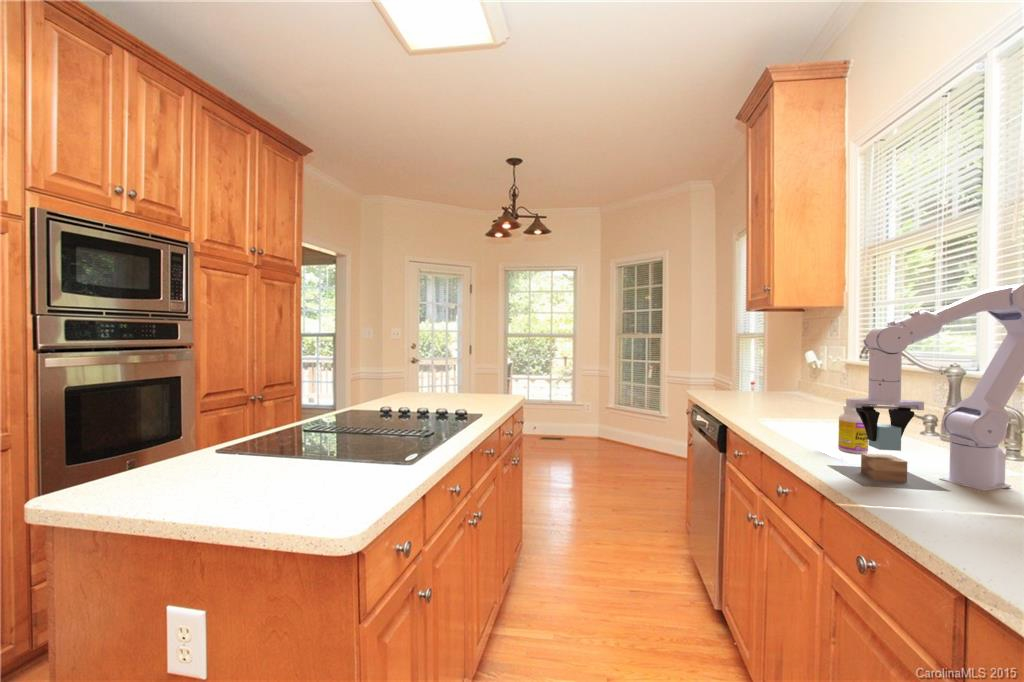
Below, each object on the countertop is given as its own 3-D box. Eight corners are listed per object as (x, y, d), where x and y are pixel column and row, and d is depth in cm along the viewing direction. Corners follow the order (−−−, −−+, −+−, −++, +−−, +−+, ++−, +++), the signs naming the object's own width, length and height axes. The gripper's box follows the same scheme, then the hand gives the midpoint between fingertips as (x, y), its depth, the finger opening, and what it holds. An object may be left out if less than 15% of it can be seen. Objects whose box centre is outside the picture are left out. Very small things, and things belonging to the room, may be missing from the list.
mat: (826, 466, 114) (826, 465, 114) (901, 470, 111) (901, 468, 111) (863, 487, 98) (863, 485, 98) (950, 492, 95) (950, 491, 95)
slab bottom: (860, 472, 108) (861, 462, 108) (890, 473, 107) (890, 464, 107) (876, 480, 102) (876, 470, 102) (907, 481, 101) (907, 471, 101)
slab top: (861, 462, 108) (861, 453, 108) (890, 464, 107) (890, 454, 107) (876, 470, 102) (876, 460, 102) (907, 471, 101) (907, 461, 101)
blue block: (868, 445, 107) (868, 423, 106) (889, 446, 106) (889, 424, 106) (879, 449, 102) (879, 427, 102) (900, 450, 102) (901, 428, 102)
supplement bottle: (855, 456, 124) (856, 408, 124) (832, 450, 131) (833, 404, 130) (874, 454, 126) (875, 407, 126) (850, 448, 132) (851, 403, 132)
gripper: (858, 381, 102) (857, 443, 102) (934, 383, 99) (933, 446, 99) (841, 378, 108) (840, 436, 109) (912, 380, 106) (911, 439, 106)
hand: (883, 440), depth 104 cm, fingers closed on blue block, 4 cm apart
